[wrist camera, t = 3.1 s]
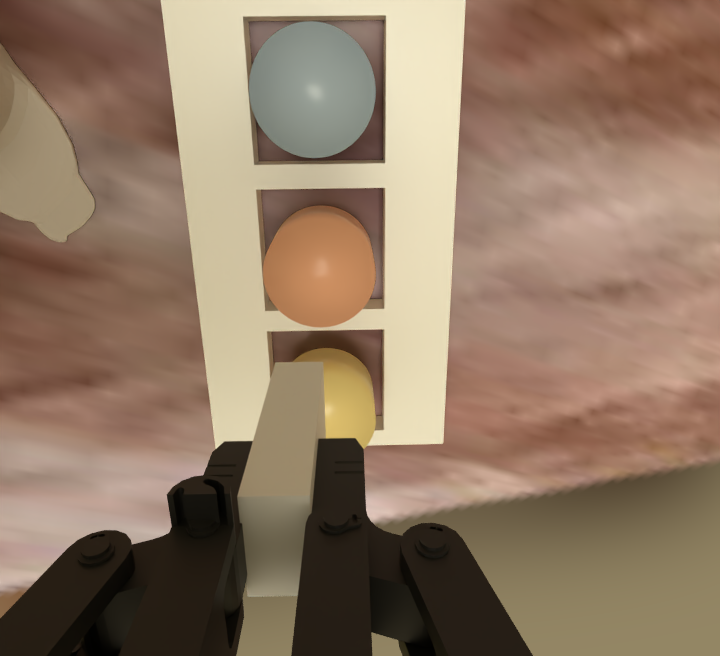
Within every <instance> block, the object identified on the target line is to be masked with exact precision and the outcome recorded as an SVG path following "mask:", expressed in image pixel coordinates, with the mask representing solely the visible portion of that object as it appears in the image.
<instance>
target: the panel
mask: <svg viewBox="0 0 720 656" xmlns="http://www.w3.org/2000/svg"><path fill="white" fill-rule="evenodd" d="M465 3H466V0H161V6H162V14H163V23H164V31H165V39H166V47H167V55H168V63H169V72H170V80H171V88H172V96H173V104H174V112H175V121H176V129H177V137H178V145H179V153H180V161H181V170H182V178H183V186H184V194H185V202H186V210H187V219H188V227H189V235H190V243H191V251H192V259H193V268H194V276H195V284H196V292H197V300H198V309H199V317H200V325H201V333H202V341H203V349H204V358H205V366H206V374H207V382H208V390H209V398H210V407H211V415H212V423H213V431H214V439H215V447H216V449H217V448H218V447H219V446H220V445H221V444H222V443H223V442H224V441H253V439H254V436H255V432H256V429H257V425H258V422H259V418H260V415H261V411H262V408H263V404H264V401H265V397H266V393H267V390H268V386H269V383H270V379H271V376H272V372H273V369H274V361H273V347H272V333H271V331H319V330H373V329H382V416H376V425H375V430H374V434H373V436H372V438H371V440H370V442H369V443H368V445H406V444H443V435H444V416H445V396H446V376H447V357H448V337H449V317H450V298H451V278H452V258H453V239H454V219H455V199H456V180H457V160H458V140H459V121H460V101H461V81H462V62H463V42H464V22H465ZM325 20H384V94H383V160H329V161H259V156H258V142H257V129H256V118H255V116H254V113H253V111H252V107H251V103H250V96H249V79H250V73H251V68H252V61H251V47H250V33H249V21H325ZM335 188H383V299H369V301H368V302H367V304H366V305H365V307H364V308H363V309H362V310H361V311H360V312H359V313H358V314H357V315H355V316H354V317H353V318H351V319H350V320H348V321H346V322H344V323H341V324H338V325H335V326H331V327H310V326H306V325H302V324H299V323H297V322H295V321H293V320H291V319H289V318H288V317H286V316H285V315H284V314H282V313H281V312H280V311H279V310H278V309H277V308H276V306H275V305H274V304H273V303H272V301H269V296H268V293H267V291H266V288H265V285H264V280H263V265H264V260H265V256H266V252H265V238H264V224H263V211H262V197H261V190H264V189H335Z"/></svg>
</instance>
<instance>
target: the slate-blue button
mask: <svg viewBox="0 0 720 656" xmlns="http://www.w3.org/2000/svg"><path fill="white" fill-rule="evenodd" d="M249 96H250V103H251V107H252V111H253V113H254V116H255V118H256V120H257V122H258V124H259V126H260V127H261V129H262V130H263V132H264V133H265V134H266V135H267V136H268V138H269V139H270V140H271V141H272V142H274V143H275V144H276V145H277V146H279V147H280V148H282V149H283V150H285V151H287V152H289V153H291V154H294V155H297V156H301V157H306V158H323V157H328V156H332V155H334V154H337V153H339V152H341V151H343V150H345V149H346V148H348V147H349V146H350V145H352V144H353V143H354V142H355V141H356V140H357V139H358V138H359V137H360V136H361V134H362V133H363V132H364V130H365V129H366V127H367V125H368V123H369V121H370V119H371V116H372V113H373V110H374V105H375V96H376V87H375V79H374V74H373V70H372V67H371V64H370V62H369V60H368V58H367V56H366V54H365V53H364V51H363V49H362V48H361V47H360V46H359V44H358V43H357V42H356V41H355V40H354V39H353V38H352V37H351V36H350V35H348V34H347V33H345V32H344V31H343V30H341V29H339V28H337V27H335V26H332V25H330V24H327V23H322V22H316V21H305V22H298V23H294V24H291V25H289V26H286V27H284V28H282V29H280V30H279V31H277V32H276V33H275V34H273V35H272V36H271V37H270V38H269V39H268V40H267V41H266V42H265V43H264V44H263V46H262V47H261V49H260V50H259V52H258V54H257V55H256V57H255V60H254V62H253V65H252V68H251V73H250V79H249Z"/></svg>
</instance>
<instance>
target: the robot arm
mask: <svg viewBox="0 0 720 656" xmlns="http://www.w3.org/2000/svg"><path fill="white" fill-rule="evenodd" d="M167 499H168V505H169V511H170V518H171V524H172V528H171V530H170V532H169V533H168V534H166V535H164V536H162V537H159V538H156V539H153V540H149V541H145V542H141V543H137V544H133V545H132V544H131V540H130V539H129V537H128V536H127V535H126V534H125V533H122V532H119V531H115V530H104V531H100V532H96V533H91V534H89V535H87V536H85V537H83V538H81V539H79V540H77V541H76V542H75V543H74V544H72V545H71V546H70V547H69V548H68V549H67V550H66V551H65V552H64V553H63V554H62V555H61V556H60V557H59V558H58V559H57V560H56V561H55V562H54V563H53V564H52V565H51V566H50V567H49V568H48V569H47V571H46V572H45V573H44V574H43V575H42V576H41V577H40V578H39V579H38V580H37V581H36V582H35V583H34V584H33V585H32V586H31V587H30V588H29V589H28V590H27V591H26V592H25V593H24V594H23V596H22V597H21V598H20V599H19V600H18V601H17V602H16V603H15V604H14V605H13V606H12V607H11V608H10V609H9V610H8V611H7V612H6V613H5V614H4V615H3V616H2V617H1V618H0V656H236V654H237V649H238V644H239V639H240V634H241V629H242V624H243V619H244V609H243V599H242V597H243V592H244V588H245V583H246V585H247V595H248V597H258V596H298V599H297V608H296V617H295V627H294V636H293V645H292V655H291V656H372V638H371V632H373V633H376V634H380V635H383V636H386V637H390V638H394V639H397V640H398V641H399V647H400V650H401V653H402V655H403V656H533V655H532V653H531V652H530V650H529V648H528V647H527V645H526V643H525V642H524V640H523V639H522V637H521V635H520V634H519V632H518V630H517V629H516V627H515V625H514V624H513V622H512V620H511V619H510V617H509V615H508V614H507V612H506V610H505V609H504V607H503V605H502V604H501V602H500V600H499V599H498V597H497V595H496V594H495V592H494V590H493V589H492V587H491V585H490V584H489V582H488V580H487V579H486V577H485V575H484V574H483V572H482V570H481V569H480V567H479V566H478V564H477V562H476V560H475V559H474V557H473V556H472V554H471V552H470V550H469V549H468V547H467V545H466V544H465V542H464V541H463V539H462V538H461V537H460V536H459V535H458V533H457V532H456V531H454V530H452V529H450V528H448V527H447V526H445V525H440V524H436V523H421V524H418V525H415V526H413V527H410V529H408V530H407V531H406V532H405V533H404V534H403V536H400V535H396V534H392V533H389V532H386V531H383V530H382V529H380V528H378V527H376V526H375V525H374V524H373V523H372V522H371V521H370V519H369V518H368V516H367V512H366V500H365V476H364V451H363V447H362V446H361V445H360V444H359V442H358V441H357V440H356V438H326V429H325V400H324V370H323V362H275V365H274V369H273V372H272V376H271V379H270V383H269V386H268V390H267V393H266V397H265V401H264V404H263V408H262V411H261V415H260V418H259V422H258V425H257V429H256V432H255V436H254V439H253V441H224V442H223V443H222V444H221V445H220V446H219V447H218V448H217V449H216V450H214V451H213V452H212V455H211V457H210V460H209V462H208V465H207V467H206V470H205V472H204V475H203V476H195V477H191V478H189V479H186V480H183V481H181V482H180V483H178V484H177V485H175V486H174V487H172V489H171V490H170V491H169V493H168V494H167Z"/></svg>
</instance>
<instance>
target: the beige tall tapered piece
mask: <svg viewBox="0 0 720 656" xmlns="http://www.w3.org/2000/svg"><path fill="white" fill-rule="evenodd" d="M94 209H95V201H94V198H93V196H92V194H91V193H90V191H89V190H88V188H87V186H86V185H85V183H84V182H83V180H82V178H81V177H80V175H79V174H78V164H77V159H76V155H75V151H74V147H73V144H72V142H71V140H70V138H69V136H68V134H67V133H66V131H65V129H64V127H63V125H62V123H61V121H60V119H59V118H58V116H57V115H56V113H55V112H54V111H53V110H52V108H51V107H50V106H49V104H48V103H47V102H46V101H45V99H44V98H43V97H42V96H41V94H40V93H39V92H38V91H37V89H36V88H35V87H34V86H33V84H32V83H31V82H30V81H29V80H28V79H27V77H26V76H25V75H24V74H23V73H22V71H21V70H20V69H19V68H18V67H17V66H16V64H15V63H14V62H13V60H12V59H11V57H10V56H9V54H8V53H7V51H6V50H5V49H4V47H3V46H2V44H1V43H0V212H2V213H4V214H6V215H8V216H10V217H12V218H15V219H17V220H24V221H30V222H33V223H34V224H35V225H36V226H37V228H38V229H39V230H40V231H41V232H42V233H43V234H44V235H45V236H47V237H48V238H49V239H50V240H53V241H57V242H65V241H67V236H68V235H69V234H71V233H72V232H74V231H75V230H77V229H79V228H80V227H81V226H83V225H84V224H85V223H86V222H87V220H88V219H89V218H90V217H91V215H92V213H93V211H94Z"/></svg>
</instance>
